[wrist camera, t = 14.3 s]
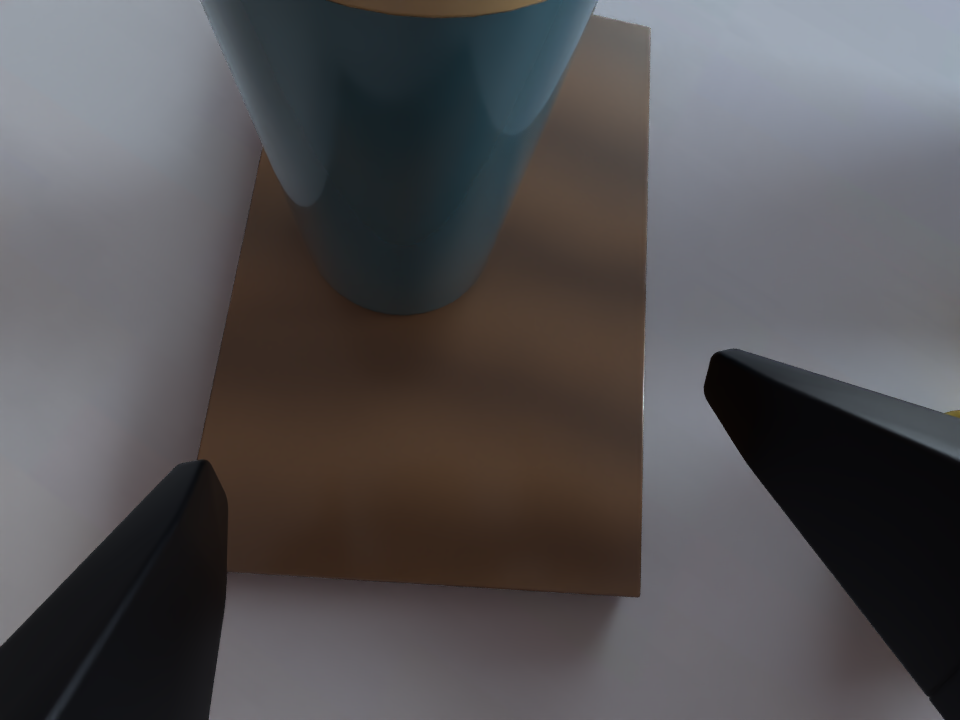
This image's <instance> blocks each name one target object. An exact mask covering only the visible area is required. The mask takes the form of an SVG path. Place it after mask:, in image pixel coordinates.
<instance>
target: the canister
mask: <svg viewBox="0 0 960 720" xmlns="http://www.w3.org/2000/svg"><path fill="white" fill-rule="evenodd" d="M200 2H201V4H202V6H203V9H204V11H205V13H206V16H207V18H208V20H209V23H210V25H211V27H212V30H213V32H214V34H215V37H216V39H217V41H218V43H219V46H220V48H221V50H222V53H223V55H224V57H225V60H226V62H227V64H228V67H229V69H230V71H231V74H232V76H233V78H234V81H235V83H236V85H237V88H238V90H239V92H240V94H241V97H242V99H243V101H244V104H245V106H246V108H247V111H248V113H249V115H250V118H251V120H252V122H253V125H254V127H255V129H256V132H257V134H258V136H259V139H260V141H261V143H262V145H263V148H264V150H265V152H266V155H267V157H268V159H269V162H270V164H271V166H272V169H273V171H274V173H275V176H276V178H277V180H278V183H279V185H280V187H281V189H282V192H283V194H284V196H285V199H286V201H287V203H288V206H289V208H290V210H291V213H292V215H293V217H294V220H295V222H296V224H297V227H298V229H299V231H300V234H301V236H302V238H303V240H304V243H305V245H306V247H307V250H308V252H309V254H310V257H311V259H312V261H313V263H314V265H315V267H316V268H317V270H318V271H319V273H320V274H321V276H322V277H323V278H324V279H325V280H326V282H327V283H328V284H329V285H330V286H331V287H332V288H333V289H334V290H336V291H337V292H338V293H339V294H340V295H342V296H343V297H345V298H346V299H348V300H349V301H351V302H353V303H355V304H357V305H359V306H361V307H364V308H366V309H369V310H372V311H375V312H380V313H384V314H392V315H414V314H421V313H426V312H430V311H433V310H436V309H439V308H441V307H443V306H446V305H448V304H449V303H451V302H453V301H455V300H456V299H458V298H459V297H460V296H462V295H463V294H464V293H465V292H467V291H468V290H469V289H470V288H471V286H472V285H473V284H474V283H475V282H476V281H477V279H478V278H479V277H480V275H481V274H482V272H483V270H484V268H485V266H486V264H487V262H488V260H489V257H490V255H491V252H492V250H493V248H494V245H495V243H496V241H497V238H498V236H499V234H500V231H501V229H502V227H503V224H504V222H505V219H506V217H507V215H508V212H509V210H510V208H511V205H512V203H513V201H514V198H515V196H516V194H517V191H518V189H519V186H520V184H521V182H522V179H523V177H524V175H525V172H526V170H527V168H528V165H529V163H530V161H531V158H532V156H533V153H534V151H535V149H536V146H537V144H538V142H539V139H540V137H541V135H542V132H543V130H544V128H545V125H546V123H547V121H548V118H549V116H550V113H551V111H552V109H553V106H554V104H555V102H556V99H557V97H558V95H559V92H560V90H561V88H562V85H563V83H564V80H565V78H566V76H567V73H568V71H569V69H570V66H571V64H572V62H573V59H574V57H575V55H576V52H577V50H578V47H579V45H580V43H581V40H582V38H583V36H584V33H585V31H586V29H587V26H588V24H589V22H590V19H591V17H592V14H593V12H594V10H595V7H596V5H597V3H598V0H200Z"/></svg>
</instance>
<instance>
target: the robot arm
mask: <svg viewBox="0 0 960 720" xmlns="http://www.w3.org/2000/svg"><path fill="white" fill-rule="evenodd" d="M704 395H705V397H706V400H707V401H708V403H709V404H710V406H711V408H712V409H713V411H714V412H715V414H716V416H717V417H718V419H719V420H720V422H721V424H722V425H723V427H724V428H725V430H726V432H727V433H728V435H729V436H730V438H731V440H732V441H733V443H734V444H735V446H736V448H737V449H738V451H739V452H740V454H741V455H742V457H743V458H744V460H745V461H746V463H747V464H748V466H749V467H750V468H751V470H752V471H753V472H754V474H755V475H756V476H757V478H758V479H759V480H760V481H761V483H762V484H763V485H764V487H765V488H766V489H767V491H768V492H769V493H770V494H771V496H772V497H773V498H774V500H775V501H776V502H777V503H778V505H779V506H780V507H781V509H782V510H783V511H784V512H785V514H786V515H787V516H788V518H789V519H790V520H791V521H792V523H793V524H794V525H795V527H796V528H797V529H798V531H799V532H800V533H801V534H802V536H803V537H804V538H805V540H806V541H807V542H808V543H809V545H810V546H811V547H812V549H813V550H814V551H815V552H816V554H817V555H818V556H819V558H820V559H821V560H822V561H823V563H824V564H825V565H826V567H827V568H828V569H829V571H830V572H831V573H832V574H833V576H834V577H835V578H836V580H837V581H838V582H839V583H840V585H841V586H842V587H843V589H844V590H845V591H846V592H847V594H848V595H849V596H850V598H851V599H852V600H853V601H854V603H855V604H856V605H857V607H858V608H859V609H860V611H861V612H862V613H863V614H864V616H865V617H866V618H867V620H868V621H869V622H870V623H871V625H872V626H873V627H874V629H875V630H876V631H877V632H878V634H879V635H880V636H881V638H882V639H883V640H884V641H885V643H886V644H887V645H888V647H889V648H890V649H891V650H892V652H893V653H894V654H895V656H896V657H897V658H898V660H899V661H900V662H901V663H902V665H903V666H904V667H905V669H906V670H907V671H908V672H909V674H910V675H911V676H912V678H913V679H914V680H915V681H916V683H917V684H918V685H919V687H920V688H921V689H922V690H923V692H924V693H925V694H926V695H927V696H928V697H929V700H930V701H931V703H932V704H933V705H934V707H935V708H936V709H937V710H938V712H939V713H940V714H941V716H942V717H943V718H944V719H945V720H960V418H958V417H954V416H951V415H948V414H945V413H942V412H938V411H935V410H932V409H929V408H926V407H922V406H919V405H916V404H913V403H910V402H906V401H903V400H900V399H897V398H894V397H890V396H887V395H884V394H881V393H877V392H874V391H871V390H868V389H865V388H861V387H858V386H855V385H852V384H849V383H845V382H842V381H839V380H836V379H833V378H829V377H826V376H823V375H820V374H817V373H813V372H810V371H807V370H804V369H801V368H797V367H794V366H791V365H788V364H784V363H781V362H778V361H775V360H772V359H768V358H765V357H762V356H759V355H756V354H752V353H749V352H746V351H743V350H740V349H728V350H723V351H719V352H716V353H714V355H713V356H712V357H711V360H710V364H709V368H708V372H707V375H706V379H705V383H704ZM227 543H228V501H227V496H226V493H225V491H224V489H223V487H222V485H221V483H220V481H219V479H218V477H217V475H216V473H215V471H214V469H213V467H212V465H211V463H210V462H209V461H208V460H205V459H200V460H195V461H191V462H186V463H182V464H179V465H177V466H176V467H175V468H173V470H172V471H171V472H170V473H169V474H168V475H167V476H166V477H165V478H164V479H163V480H162V481H161V482H160V483H159V484H158V485H157V486H156V487H155V488H154V489H153V490H152V491H151V492H150V493H149V494H148V495H147V496H146V497H145V498H144V499H143V500H142V501H141V503H140V504H139V505H138V506H137V507H136V508H135V509H134V510H133V511H132V512H131V513H130V514H129V515H128V516H127V517H126V518H125V519H124V520H123V521H122V522H121V523H120V524H119V525H118V526H117V527H116V528H115V529H114V530H113V531H112V532H111V533H110V534H109V536H108V537H107V538H106V539H105V540H104V541H103V542H102V543H101V544H100V545H99V546H98V547H97V548H96V549H95V550H94V551H93V552H92V553H91V554H90V555H89V556H88V557H87V558H86V559H85V560H84V561H83V562H82V563H81V564H80V565H79V566H78V568H77V569H76V570H75V571H74V572H73V573H72V574H71V575H70V576H69V577H68V578H67V579H66V580H65V581H64V582H63V583H62V584H61V585H60V586H59V587H58V588H57V589H56V590H55V591H54V592H53V593H52V594H51V595H50V596H49V597H48V598H47V599H46V601H45V602H44V603H43V604H42V605H41V606H40V607H39V608H38V609H37V610H36V611H35V612H34V613H33V614H32V615H31V616H30V617H29V618H28V619H27V620H26V621H25V622H24V623H23V624H22V625H21V626H20V627H19V628H18V629H17V630H16V631H15V632H14V634H13V635H12V636H11V637H10V638H9V639H8V640H7V641H6V642H5V643H4V644H3V645H2V646H1V647H0V720H208V718H209V712H210V705H211V698H212V691H213V684H214V678H215V671H216V664H217V657H218V651H219V644H220V637H221V630H222V624H223V617H224V609H225V600H226V584H227Z"/></svg>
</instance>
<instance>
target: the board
mask: <svg viewBox="0 0 960 720" xmlns="http://www.w3.org/2000/svg"><path fill="white" fill-rule="evenodd" d="M650 40H651V28H650V27H648V26H643V25H638V24H634V23H629V22H625V21H620V20H616V19H611V18H606V17H602V16H597V15H593V14H592V17H591V19H590V22H589V24H588V26H587V29H586V31H585V33H584V36H583V38H582V40H581V43H580V45H579V47H578V50H577V52H576V55H575V57H574V59H573V62H572V64H571V66H570V69H569V71H568V73H567V76H566V78H565V80H564V83H563V85H562V88H561V90H560V92H559V95H558V97H557V99H556V102H555V104H554V106H553V109H552V111H551V113H550V116H549V118H548V121H547V123H546V125H545V128H544V130H543V132H542V135H541V137H540V139H539V142H538V144H537V146H536V149H535V151H534V153H533V156H532V158H531V161H530V163H529V165H528V168H527V170H526V172H525V175H524V177H523V179H522V182H521V184H520V186H519V189H518V191H517V194H516V196H515V198H514V201H513V203H512V205H511V208H510V210H509V212H508V215H507V217H506V219H505V222H504V224H503V227H502V229H501V231H500V234H499V236H498V238H497V241H496V243H495V245H494V248H493V250H492V252H491V255H490V257H489V260H488V262H487V264H486V266H485V268H484V270H483V272H482V274H481V275H480V277H479V278H478V279H477V281H476V282H475V283H474V284H473V285H472V286H471V288H470V289H469V290H468V291H467V292H465V293H464V294H463V295H462V296H460V297H459V298H458V299H456V300H455V301H453V302H451V303H449V304H448V305H446V306H443V307H441V308H439V309H436V310H433V311H430V312H426V313H421V314H414V315H392V314H384V313H380V312H375V311H372V310H369V309H366V308H364V307H361V306H359V305H357V304H355V303H353V302H351V301H349V300H348V299H346V298H345V297H343V296H342V295H340V294H339V293H338V292H337V291H336V290H334V289H333V288H332V287H331V286H330V285H329V284H328V283H327V282H326V280H325V279H324V278H323V277H322V276H321V274H320V273H319V271H318V270H317V268H316V267H315V265H314V263H313V261H312V259H311V257H310V254H309V252H308V250H307V247H306V245H305V243H304V240H303V238H302V236H301V234H300V231H299V229H298V227H297V224H296V222H295V220H294V217H293V215H292V213H291V210H290V208H289V206H288V203H287V201H286V199H285V196H284V194H283V192H282V189H281V187H280V185H279V183H278V180H277V178H276V176H275V173H274V171H273V169H272V166H271V164H270V162H269V159H268V157H267V155H266V152H265V150H264V148H263V147H262V152H261V156H260V161H259V166H258V171H257V175H256V180H255V185H254V190H253V194H252V199H251V204H250V209H249V214H248V218H247V223H246V228H245V233H244V237H243V242H242V247H241V252H240V256H239V261H238V266H237V271H236V275H235V280H234V285H233V290H232V295H231V299H230V304H229V309H228V314H227V318H226V323H225V328H224V333H223V337H222V342H221V347H220V352H219V356H218V361H217V366H216V371H215V376H214V380H213V385H212V390H211V395H210V399H209V404H208V409H207V414H206V418H205V423H204V428H203V433H202V437H201V442H200V447H199V452H198V457H197V460H200V459H205V460H208V461H209V462H210V463H211V465H212V467H213V469H214V471H215V473H216V475H217V477H218V479H219V481H220V483H221V485H222V487H223V489H224V491H225V493H226V496H227V501H228V543H227V572H233V573H249V574H265V575H281V576H297V577H313V578H329V579H345V580H361V581H378V582H394V583H410V584H426V585H442V586H458V587H474V588H490V589H506V590H522V591H539V592H555V593H571V594H587V595H603V596H619V597H635V598H638V597H640V588H641V534H642V479H643V424H644V369H645V314H646V259H647V204H648V150H649V95H650Z"/></svg>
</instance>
